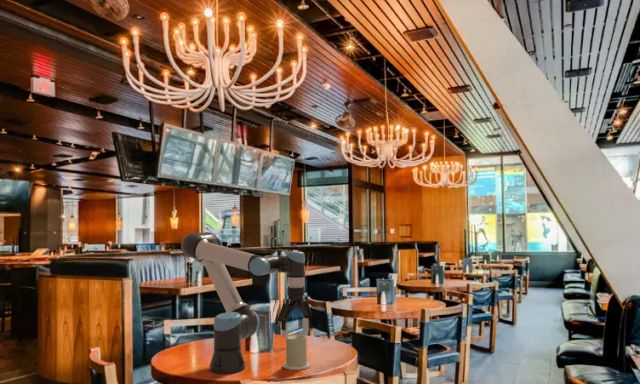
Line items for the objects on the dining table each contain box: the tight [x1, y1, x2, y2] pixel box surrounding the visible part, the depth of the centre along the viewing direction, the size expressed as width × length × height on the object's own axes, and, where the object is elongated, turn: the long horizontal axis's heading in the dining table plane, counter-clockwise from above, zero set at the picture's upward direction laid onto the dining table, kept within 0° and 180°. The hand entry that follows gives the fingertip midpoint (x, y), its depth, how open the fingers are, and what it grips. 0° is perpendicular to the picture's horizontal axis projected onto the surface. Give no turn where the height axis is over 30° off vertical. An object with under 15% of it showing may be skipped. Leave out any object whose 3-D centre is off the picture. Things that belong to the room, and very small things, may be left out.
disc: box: [282, 361, 311, 371], centre depth 226 cm, size 12×12×1 cm
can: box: [285, 334, 308, 367], centre depth 226 cm, size 9×9×12 cm
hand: (295, 335), depth 227 cm, fingers open, 13 cm apart
